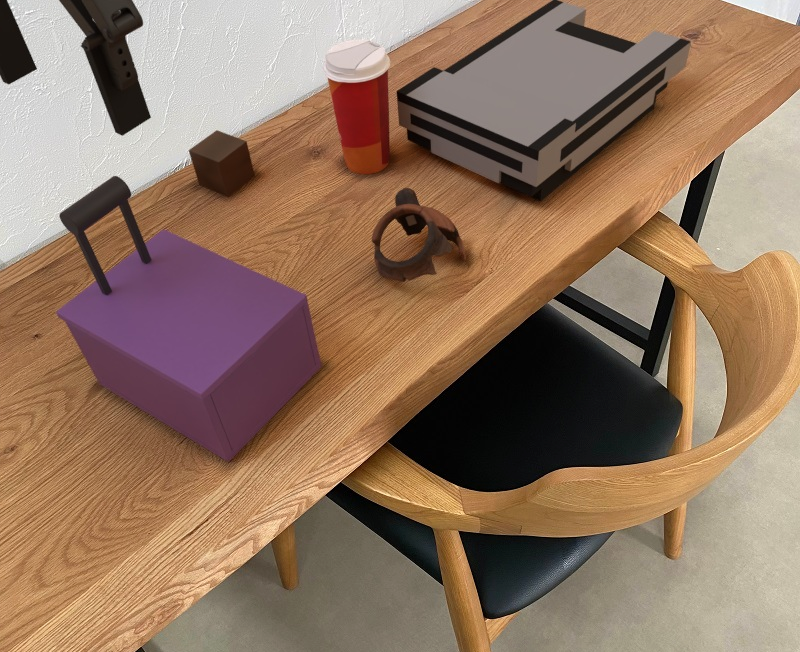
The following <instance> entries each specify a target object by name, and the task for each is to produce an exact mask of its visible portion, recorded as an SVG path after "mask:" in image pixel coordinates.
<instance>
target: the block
mask: <svg viewBox="0 0 800 652" xmlns="http://www.w3.org/2000/svg"><path fill="white" fill-rule="evenodd" d="M188 153H189V157H190V160H191V163H192V166H193V170H194V172H195V176H196V180H197V182H198V185H199V186H200V187H203V188H206V189H207V190H210V191H212V192H215V193H217V194H220V195H222V196H224V197H227V198H229V197H230V196H232V195H233V194H234V193H235V192H237V191H239V190H240V189H241V188H242V187H243V186H244V185H246V184H247V183H248V182H250V181H251V180H252V179H253V178H254V177H256V174H255V170H254V166H253V162H252V158H251V154H250V150H249V145H248V142H247V140H244V139H241V138H239V137H237V136H234V135H231V134H228V133H226V132H223V131H220V130H215V131H213V132H212V133H211V134H209V135H208V136H206V137H205V138H204V139H202V140H201V141H199V142H198V143H197V144H195V145H194V146H192V147H191V148H190V149H188Z"/></svg>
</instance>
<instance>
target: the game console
mask: <svg viewBox="0 0 800 652" xmlns="http://www.w3.org/2000/svg"><path fill="white" fill-rule="evenodd" d="M586 15H587V8H583V7H580V6H578V5H575V4H571V3H569V2H565V1H562V0H551V1H549V2H548V3H546V4H545V5H543V6H541V7H540V8H538V9H537V10H535V11H534V12H532V13H531V14H529V15H528V16H526V17H525V18H522V19H521V20H520V21H518V22H517V23H515V24H514V25H512V26H510V27H509V28H507V29H506V30H504V31H503V32H501V33H500V34H498V35H496V36H495V37H494V38H491V39H490V40H489V41H487V42H486V43H484V44H482V45H481V46H480V47H478V48H476V49H475V50H473V51H472V52H470V53H469V54H467V55H465V56H464V57H462V58H460V59H459V60H458V61H455V62H454V63H453V64H451V65H450V66H448V67H446V68H445V69H440V68H438V67H435V66H433V67H432V68H430V69H429V70H427V71H425V72H424V73H422V74H421V75H419V76H417V77H416V78H414V79H413V80H411V81H410V82H409V83H407V84H405V85H403V86H402V87H400V88H399V89H397V90H396V103H397V116H398V117H397V118H398V126H399V127H402V128H404V129H406V138H407V139H406V140H407V141H409V142H411V143H414V144H416V145H418V147H420V148H423V149H425V150H427V151H429V152H431V154H434V155H435V156H438V157H440V158H443V159H444V160H447V161H449V162H451V163H453V164H455V165H458V166H459V167H462V168H464V169H467V170H469V171H470V172H473V173H475V174H477V175H479V176H482V177H483V178H486V179H488V180H491V181H492V182H495V183H497V184H502V185H503V186H505V187H508V188H509V189H512V190H515V191H516V192H518V193H520V194H523V195H525V196H527V197H530V198H531V199H534V200H536V201H539V202H542V201H543V200H545V198H547V197H548V196H549V195H550V194H552V193H553V192H554V191H555V190H557V189H558V188H559V187H560V186H561V185H562V184H564V183H565V182H566V181H568V179H570V178H571V177H573V175H575V174H576V173H577V172H578V171H580V170H581V169H582V168H583V167H585V166H586V165H587V164H588V163H590V161H592V160H593V159H594V158H595V157H597V156H598V155H599V154H600V153H602V152H603V151H604V150H605V149H606V148H607V147H609V146H610V145H611V144H612V143H614V142H615V141H616V140H617V139H619V138H620V137H621V136H623V134H625V133H626V132H627V131H628V130H630V129H631V128H633V126H635V125H636V124H637V123H638V122H640V121H641V120H642V119H643V118H644V117H646V115H648V114H649V113H651V111H653V110H654V109H655V107H656V101H657V96H658V95H659V94H661V92H663V91H664V90H665V89H667V88H668V84H669V81H670V80H672V78H674V77H676V75H678V74H679V73H680V72H681V71H682V70H684V69H685V68H686V67H687V63H688V58H689V53H690V49H691V44H692V41H690V40H687V39H684V38H681V37H678V36H674V35H671V34H667V33H664V32H662V31H659V30H653V31H651V32H650V33H649V34H647V35H646V36H644V37H643V38H642V39H641V40H639V41H638V42H634V41H631V40H628V39H624V38H621V37H619V36H615V35H612V34H608V33H606V32H603V31H599V30H596V29H594V28H591V27H587V26H585V24H586Z"/></svg>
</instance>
